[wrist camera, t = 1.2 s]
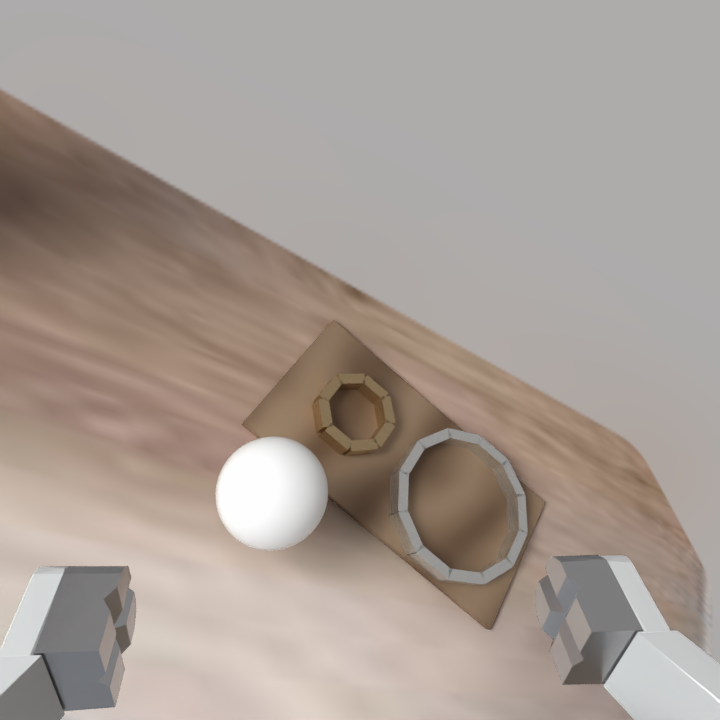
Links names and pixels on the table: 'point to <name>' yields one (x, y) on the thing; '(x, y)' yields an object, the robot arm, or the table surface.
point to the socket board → (405, 470)
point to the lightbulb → (271, 493)
